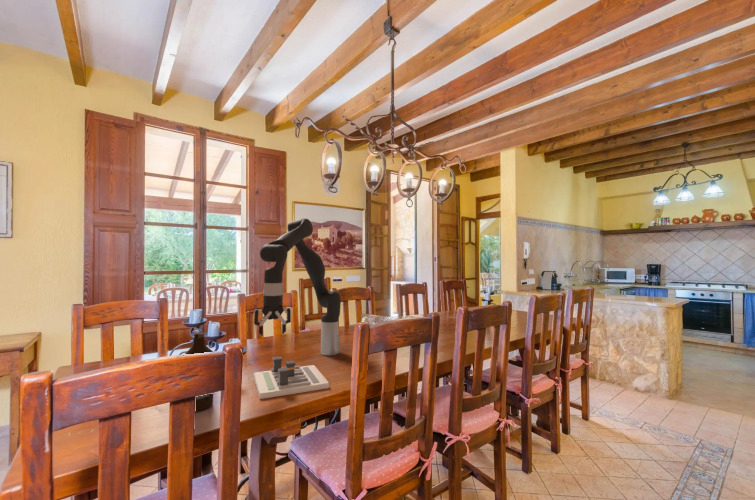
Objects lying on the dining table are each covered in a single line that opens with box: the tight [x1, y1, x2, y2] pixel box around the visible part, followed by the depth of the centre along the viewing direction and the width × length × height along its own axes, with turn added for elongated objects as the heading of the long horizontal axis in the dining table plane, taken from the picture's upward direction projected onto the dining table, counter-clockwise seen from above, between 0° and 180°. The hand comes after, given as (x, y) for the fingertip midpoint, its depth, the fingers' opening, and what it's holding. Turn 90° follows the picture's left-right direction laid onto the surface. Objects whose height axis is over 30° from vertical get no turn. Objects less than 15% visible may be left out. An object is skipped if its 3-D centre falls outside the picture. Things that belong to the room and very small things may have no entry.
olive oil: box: [184, 332, 214, 413], centre depth 116 cm, size 11×11×25 cm
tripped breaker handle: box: [284, 359, 296, 377], centre depth 139 cm, size 4×4×6 cm
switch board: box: [253, 356, 330, 400], centre depth 139 cm, size 26×24×8 cm
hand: (272, 334), depth 136 cm, fingers open, 8 cm apart
